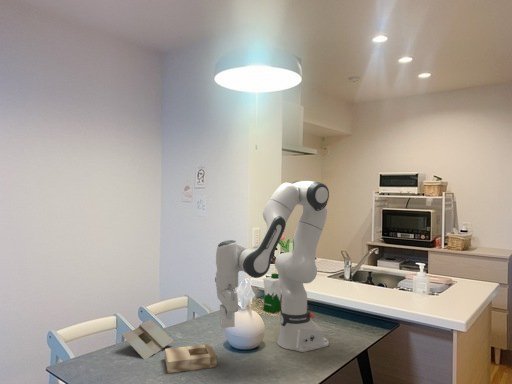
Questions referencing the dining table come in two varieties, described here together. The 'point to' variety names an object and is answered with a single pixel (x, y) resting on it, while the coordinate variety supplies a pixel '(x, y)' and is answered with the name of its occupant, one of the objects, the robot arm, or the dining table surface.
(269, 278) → the milk carton
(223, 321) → the metal bracket bar
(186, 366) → the oak well block
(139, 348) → the beige slotted box
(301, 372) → the dining table surface
